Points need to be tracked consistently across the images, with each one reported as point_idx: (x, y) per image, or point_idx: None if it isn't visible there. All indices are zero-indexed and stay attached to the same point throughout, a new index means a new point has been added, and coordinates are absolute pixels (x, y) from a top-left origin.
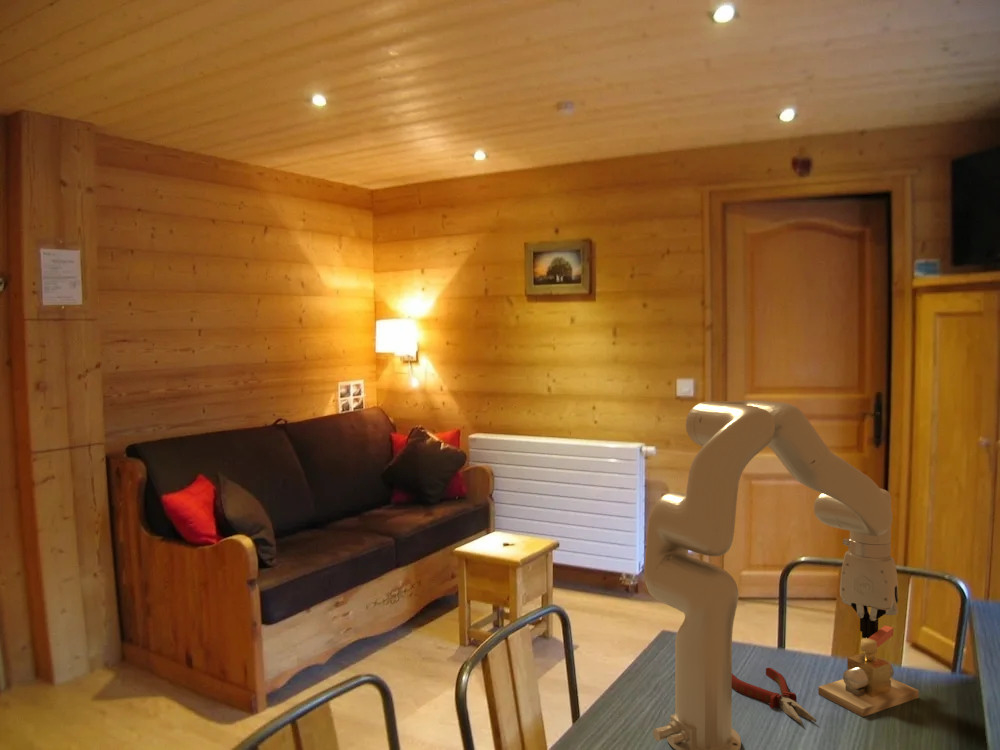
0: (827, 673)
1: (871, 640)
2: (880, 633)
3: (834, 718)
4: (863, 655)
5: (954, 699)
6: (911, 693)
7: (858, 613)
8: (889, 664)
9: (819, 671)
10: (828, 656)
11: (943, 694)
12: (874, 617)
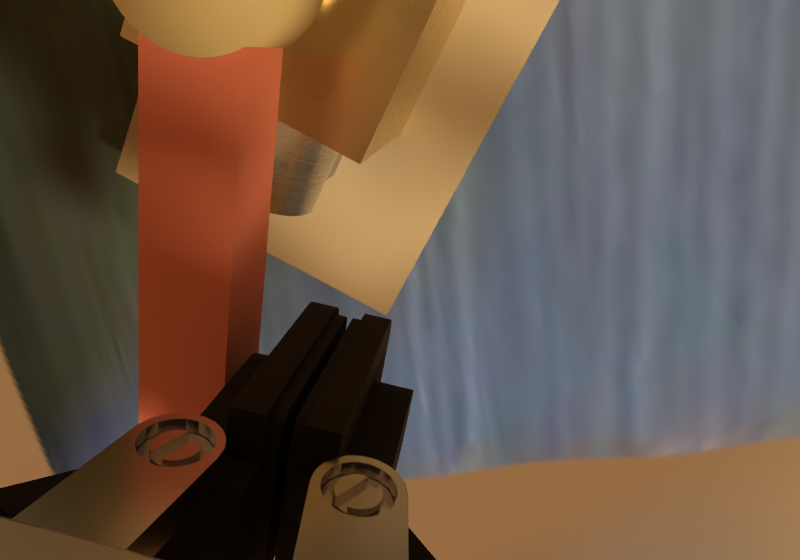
0: (645, 204)
1: (175, 12)
2: (178, 336)
3: None
4: (353, 83)
5: (18, 248)
6: (137, 111)
7: (390, 510)
8: (126, 25)
9: (699, 206)
10: (666, 448)
11: (70, 277)
12: (148, 458)
